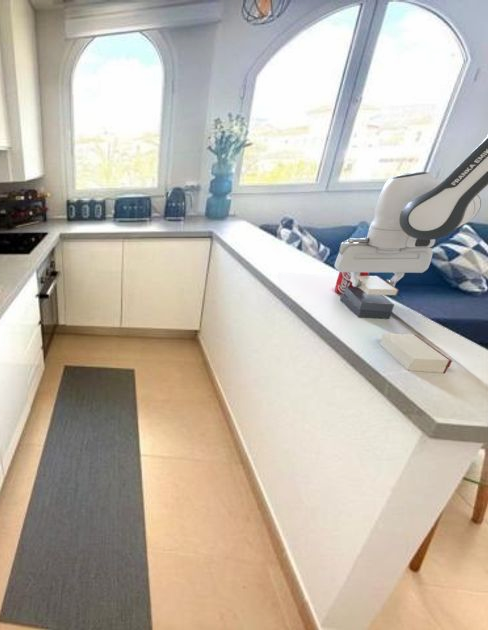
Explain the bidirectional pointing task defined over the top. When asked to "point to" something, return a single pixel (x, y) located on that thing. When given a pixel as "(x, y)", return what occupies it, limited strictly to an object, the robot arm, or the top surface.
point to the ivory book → (376, 286)
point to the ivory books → (415, 353)
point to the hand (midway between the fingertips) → (372, 286)
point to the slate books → (366, 304)
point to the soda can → (345, 281)
